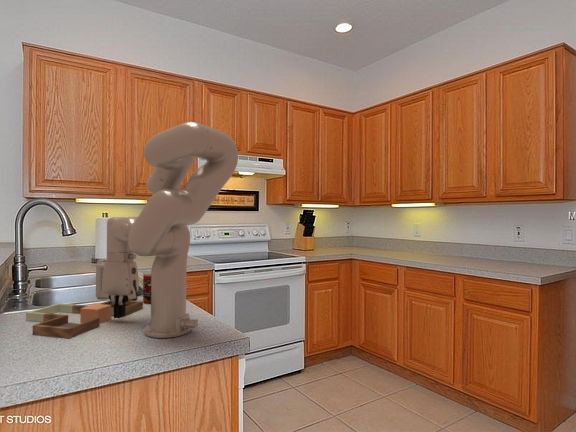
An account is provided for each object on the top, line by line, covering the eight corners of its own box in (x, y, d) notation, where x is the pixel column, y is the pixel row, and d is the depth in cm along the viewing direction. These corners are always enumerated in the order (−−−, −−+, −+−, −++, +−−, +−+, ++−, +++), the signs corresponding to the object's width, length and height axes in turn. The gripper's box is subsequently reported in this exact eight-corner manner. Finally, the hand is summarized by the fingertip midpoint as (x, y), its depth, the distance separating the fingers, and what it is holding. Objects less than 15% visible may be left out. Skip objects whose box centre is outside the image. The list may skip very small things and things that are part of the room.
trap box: (142, 308, 128) (142, 301, 128) (69, 338, 97) (69, 329, 97) (81, 303, 134) (81, 297, 134) (-7, 330, 103) (-7, 321, 103)
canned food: (139, 301, 138) (140, 272, 138) (160, 298, 144) (160, 270, 144) (147, 305, 133) (147, 275, 133) (168, 302, 138) (169, 273, 138)
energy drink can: (110, 295, 147) (110, 258, 147) (114, 298, 143) (115, 260, 143) (93, 297, 143) (94, 259, 143) (98, 300, 139) (98, 261, 139)
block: (111, 319, 116) (111, 304, 116) (97, 324, 110) (97, 309, 110) (94, 317, 117) (94, 303, 117) (80, 323, 111) (80, 308, 111)
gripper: (149, 257, 114) (148, 315, 114) (107, 255, 117) (107, 312, 117) (133, 259, 106) (133, 322, 107) (90, 257, 110) (89, 318, 110)
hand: (119, 317), depth 112 cm, fingers closed
